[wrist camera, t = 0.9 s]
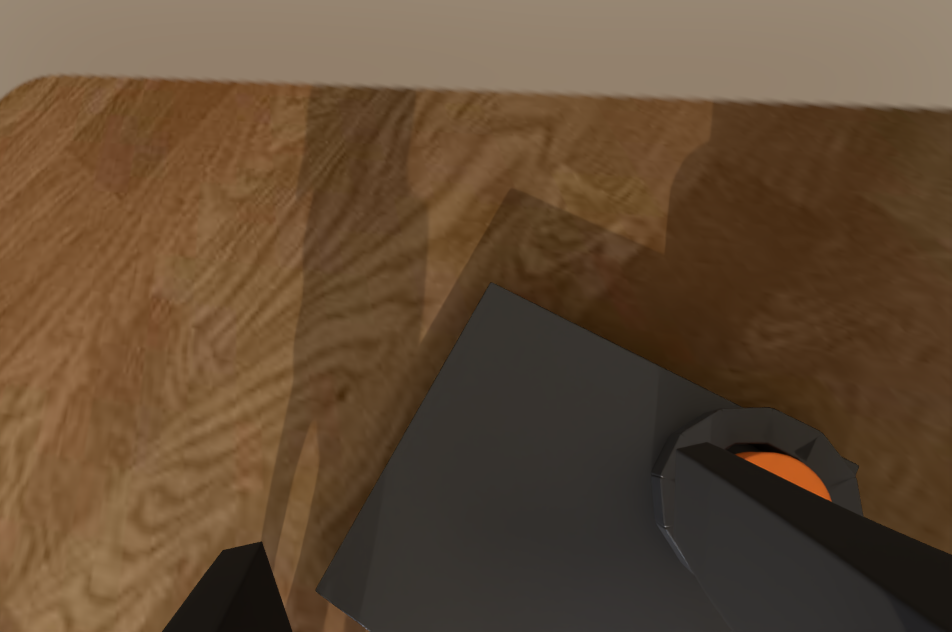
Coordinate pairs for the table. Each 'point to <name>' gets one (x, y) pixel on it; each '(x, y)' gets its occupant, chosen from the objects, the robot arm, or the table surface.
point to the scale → (548, 488)
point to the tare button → (788, 470)
